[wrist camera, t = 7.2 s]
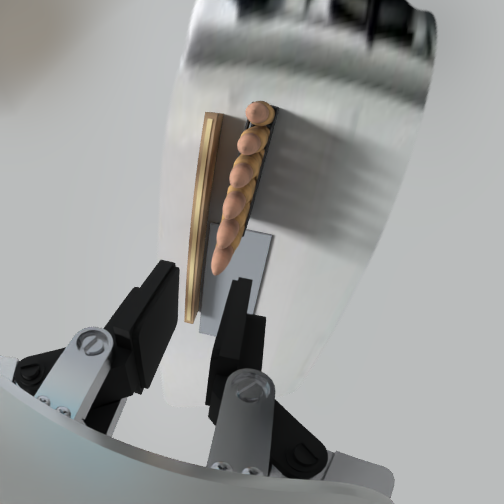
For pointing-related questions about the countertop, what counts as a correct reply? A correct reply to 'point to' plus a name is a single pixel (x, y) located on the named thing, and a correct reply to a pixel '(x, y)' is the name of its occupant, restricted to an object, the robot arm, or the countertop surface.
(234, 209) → the ammunition clip
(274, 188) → the countertop surface
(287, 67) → the countertop surface
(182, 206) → the countertop surface
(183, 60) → the countertop surface
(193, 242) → the straightedge
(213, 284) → the flat gray rectangular panel
